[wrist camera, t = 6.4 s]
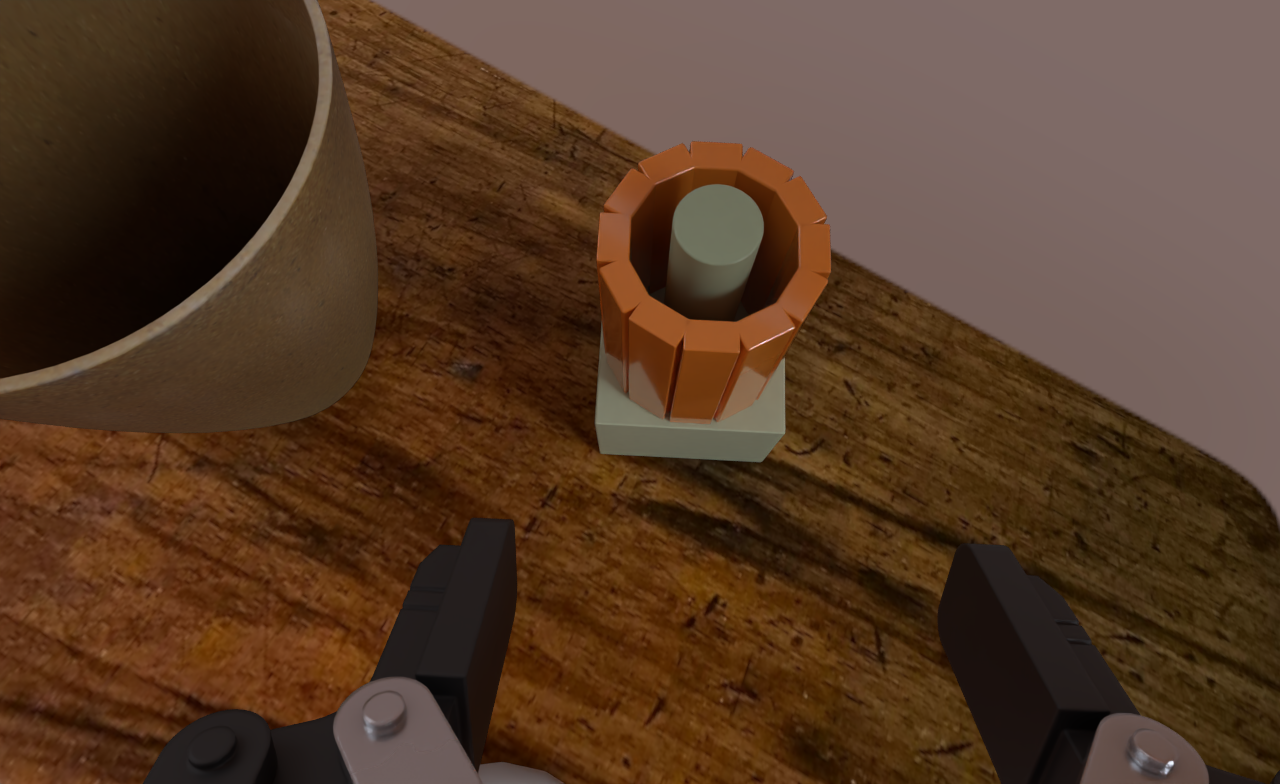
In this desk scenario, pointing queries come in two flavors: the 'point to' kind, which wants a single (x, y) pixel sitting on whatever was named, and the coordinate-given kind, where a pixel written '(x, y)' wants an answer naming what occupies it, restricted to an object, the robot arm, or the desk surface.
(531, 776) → the donut
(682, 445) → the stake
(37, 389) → the plant pot
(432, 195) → the desk surface
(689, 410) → the pen holder
